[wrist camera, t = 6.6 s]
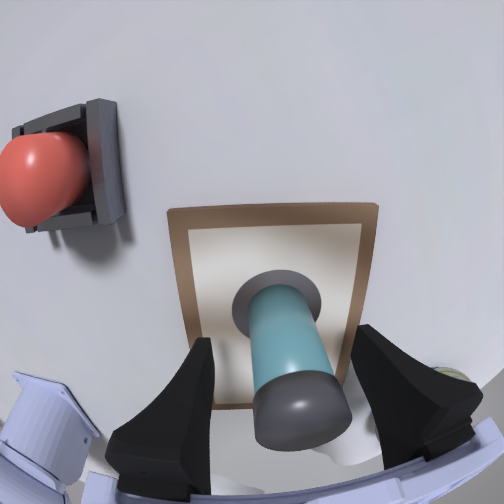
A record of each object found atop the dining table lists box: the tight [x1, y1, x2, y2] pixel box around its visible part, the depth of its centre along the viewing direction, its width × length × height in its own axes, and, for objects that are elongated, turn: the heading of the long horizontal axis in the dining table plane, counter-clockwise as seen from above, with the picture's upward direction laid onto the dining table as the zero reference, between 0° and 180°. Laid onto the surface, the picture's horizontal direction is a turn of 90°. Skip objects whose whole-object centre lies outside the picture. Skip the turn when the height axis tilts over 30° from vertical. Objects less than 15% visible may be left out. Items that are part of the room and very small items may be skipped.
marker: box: [248, 284, 352, 452], centre depth 12 cm, size 4×4×8 cm
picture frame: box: [167, 203, 379, 410], centre depth 17 cm, size 16×11×1 cm
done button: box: [0, 131, 91, 228], centre depth 10 cm, size 4×4×3 cm
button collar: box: [12, 98, 126, 233], centre depth 12 cm, size 6×6×2 cm
